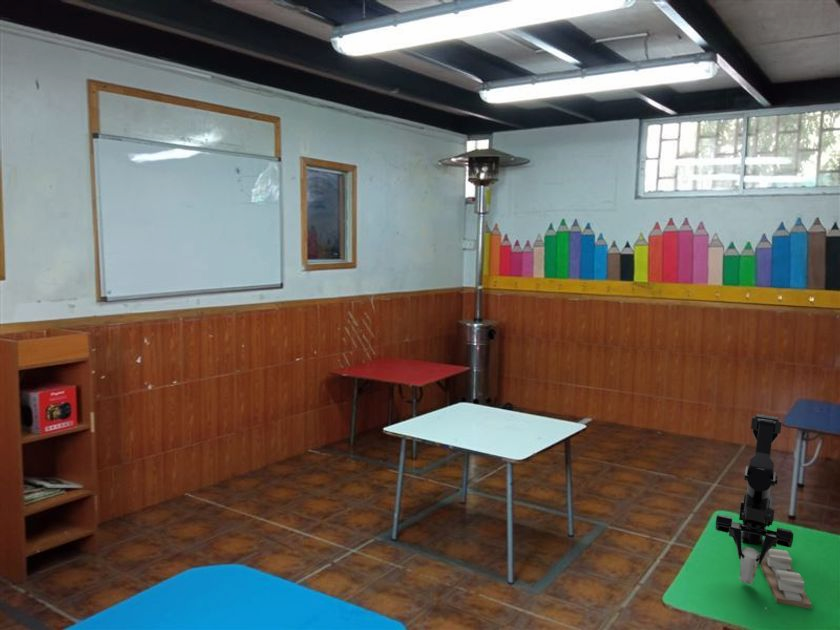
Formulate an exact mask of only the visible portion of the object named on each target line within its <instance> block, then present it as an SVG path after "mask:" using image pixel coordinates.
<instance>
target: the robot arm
mask: <svg viewBox="0 0 840 630" xmlns="http://www.w3.org/2000/svg"><path fill="white" fill-rule="evenodd" d="M778 418H779V417H777V416H772V415H765V414H760V413H756V416H751V420H750V421H751V422H750V423H751V424H750V429H752V436H753V437H754V440H755V443H756V445H755V452H754V455H752V456H751V457H750V459H749V461H748V462H749V464H748V465H746V466H745V471H744V481H746V482H747V483H746V484H747V485H746V493H745V495H744V498H743V500H740V501H741V502H740V509H739V518H738V520H739V521H742V523H741V522H736V521H733V516H729V515H725V514H720V513H719V514H717V515H716V519H715V530H716V531H719V532H722V533H726V534H728V536H729V537H731V538H732V539H733V541H734V544H735V547H736V552H737V555H738V559H739V560H741V550H742V542H743V543H746V544H752V545H753V544H754V545H759V546H762V548H761V552H760V553H761V554H760V559H759V562H758V565H760V564H761V562H762V561H763V559H764V557H765V555H766V553H767V552H768V551H769V549H772V547H773V548H776V547H777V545H778V546H782V547H786V548H792V545H793V543H794V542H793V541H794V532H793V531H792V530H790V529H787V528H783V527H781V528H780V527H778V526H777V527H776V530H775V531H774V530H771V529H766V528H767V527H770V526H772V525H773V522H774V517H775V509H773V508H772V507H771V506H770V505H771V504H770V501H771V500H770V495H771V489H772V487H775V485H778V479H779V477H778V474H777V472H776V471H775V470H774V467H775V466H774V465H775V463H774V461H773V460H772V458H771V451H772V445H773V444H774V442H775V441H776V440H777V439H778V434H782V433H781V432H782V426H783V425H782V424H783V421H780V420H779V419H778Z"/></svg>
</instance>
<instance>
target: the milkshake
mask: <svg viewBox="0 0 840 630" xmlns="http://www.w3.org/2000/svg"><path fill="white" fill-rule="evenodd" d="M760 554H761V552H759V551H758V550H756V549H755V548H753V547H750V546H747V547H743V548H741V559H740V570H739V581H740V582H741V583H744V584H747V585H752V584H753V583H754V581H755V576H756V573H757V568H758V566H759V558H760Z"/></svg>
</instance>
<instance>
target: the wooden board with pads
mask: <svg viewBox="0 0 840 630" xmlns="http://www.w3.org/2000/svg"><path fill="white" fill-rule="evenodd" d="M759 559H760V558H759ZM792 563H793V562H792V557H791V556H790V553H789V552H788V550H784V549H783V550H782V549H776V548H770V549H769V551H768V552H767V553H766V555H765V557H764V559H763V561H762V562H761V564H759V566H760V568H761V571H762V573H763V575H764V577H765V580H766V582H767V584H768V586H769V589H770V591H771V594H772V595H773V598H774V600H775V603H777V604H781V605H788V606H792V607H793V606H794V607H798V608H805V609H812V603H811V601H810V599H809V597H808V595H807V593H806V590H805V582H804V580H803V577H802V576H801V574H800V573H798V572H795V571H794V570H795V569H794V568H793V565H792Z"/></svg>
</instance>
